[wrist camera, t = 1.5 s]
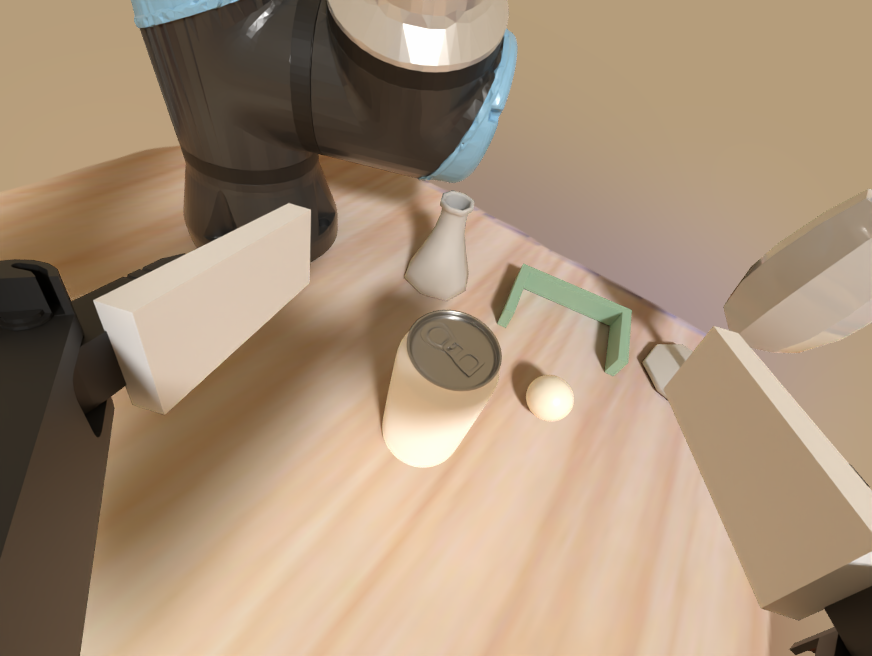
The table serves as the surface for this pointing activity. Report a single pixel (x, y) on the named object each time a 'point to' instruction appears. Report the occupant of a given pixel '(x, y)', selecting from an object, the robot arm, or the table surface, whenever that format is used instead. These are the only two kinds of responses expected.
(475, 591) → the table surface
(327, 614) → the table surface
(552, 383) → the ball
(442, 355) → the can
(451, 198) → the flask
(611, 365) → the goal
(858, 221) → the wineglass
